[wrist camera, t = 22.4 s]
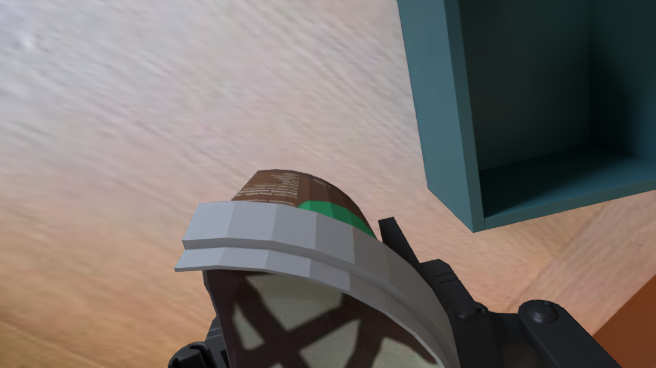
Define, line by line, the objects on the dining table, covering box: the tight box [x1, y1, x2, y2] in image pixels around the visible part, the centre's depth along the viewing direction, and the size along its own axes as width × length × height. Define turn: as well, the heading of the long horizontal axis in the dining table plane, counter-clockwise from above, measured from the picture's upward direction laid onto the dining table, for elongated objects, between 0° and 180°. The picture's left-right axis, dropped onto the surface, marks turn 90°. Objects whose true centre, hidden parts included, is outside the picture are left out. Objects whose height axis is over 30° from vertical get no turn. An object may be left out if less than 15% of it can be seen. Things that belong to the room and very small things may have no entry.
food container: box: [174, 169, 461, 368], centre depth 13 cm, size 12×6×10 cm, turn 8°
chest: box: [397, 0, 656, 233], centre depth 27 cm, size 17×16×10 cm
